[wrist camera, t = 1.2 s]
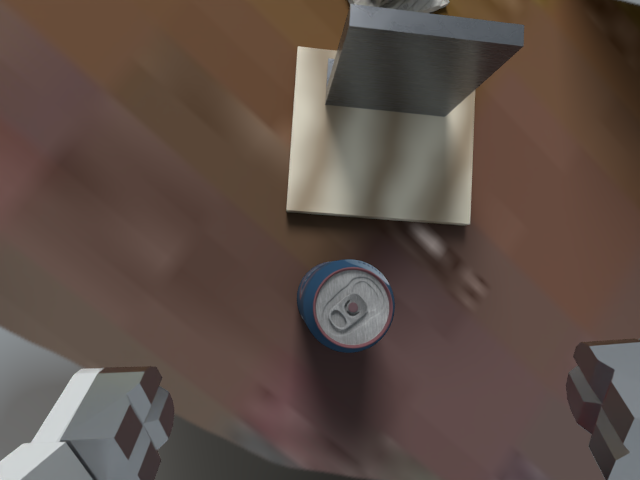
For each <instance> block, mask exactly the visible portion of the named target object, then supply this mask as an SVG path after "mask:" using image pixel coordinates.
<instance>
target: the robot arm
mask: <svg viewBox="0 0 640 480" xmlns="http://www.w3.org/2000/svg"><path fill="white" fill-rule="evenodd" d="M573 357H574V359H575V361H576V363H577V364H578V366H577V367H575V368H574V369H573V370H572V371H570V372H569V373H568V378H567V383H566V391H567V400H568V403H569V406H570V409H571V412H572V414H573V416H574V418H575V420H576V422H577V424H578V425H580V426H581V427H582V428H584V429H585V430H586V431H588V432H589V433H590V434H592V435H591V438H590V442H589V448H590V450H591V452H592V454H593V456H594V458H595V460H596V462H597V464H598V466H599V468H600V470H601V472H602V474H603V476H604V478H605V480H640V339H622V340H607V341H592V342H580V343H579V344H578V345H577V346H576V349H575V352H574V355H573ZM161 380H162V376H161V374H160V373H159V371H158V369H157V367H151V366H148V367H111V368H89V369H81V370H79V371H78V372H77V373H75V374H74V375H73V377H72V378H71V380H70V381H69V383H68V385H67V386H66V388H65V389H64V391H63V392H62V394H61V396H60V397H59V399H58V400H57V402H56V404H55V405H54V407H53V408H52V410H51V412H50V413H49V415H48V417H47V418H46V420H45V421H44V423H43V425H42V426H41V428H40V429H39V431H38V433H37V434H36V436H35V437H34V439H33V440H32V442H31V443H24V444H22V445H21V446H19V447H18V448H17V449H16V450H14V451H13V452H12V453H10V454H9V455H8V456H6V457H5V458H4V459H3V460H1V461H0V480H154V479H155V476H156V473H157V471H158V468H159V465H160V462H161V459H160V456H159V453H158V449H159V448H160V447H161V446H162V445H163V444H164V443H165V442H166V441H167V440H168V439H169V436H170V433H171V430H172V427H173V419H174V405H173V400H172V398H171V395H170V393H169V392H168V391H166V390H165V389H163V388H162V387H160V386H159V385H160V382H161Z"/></svg>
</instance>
